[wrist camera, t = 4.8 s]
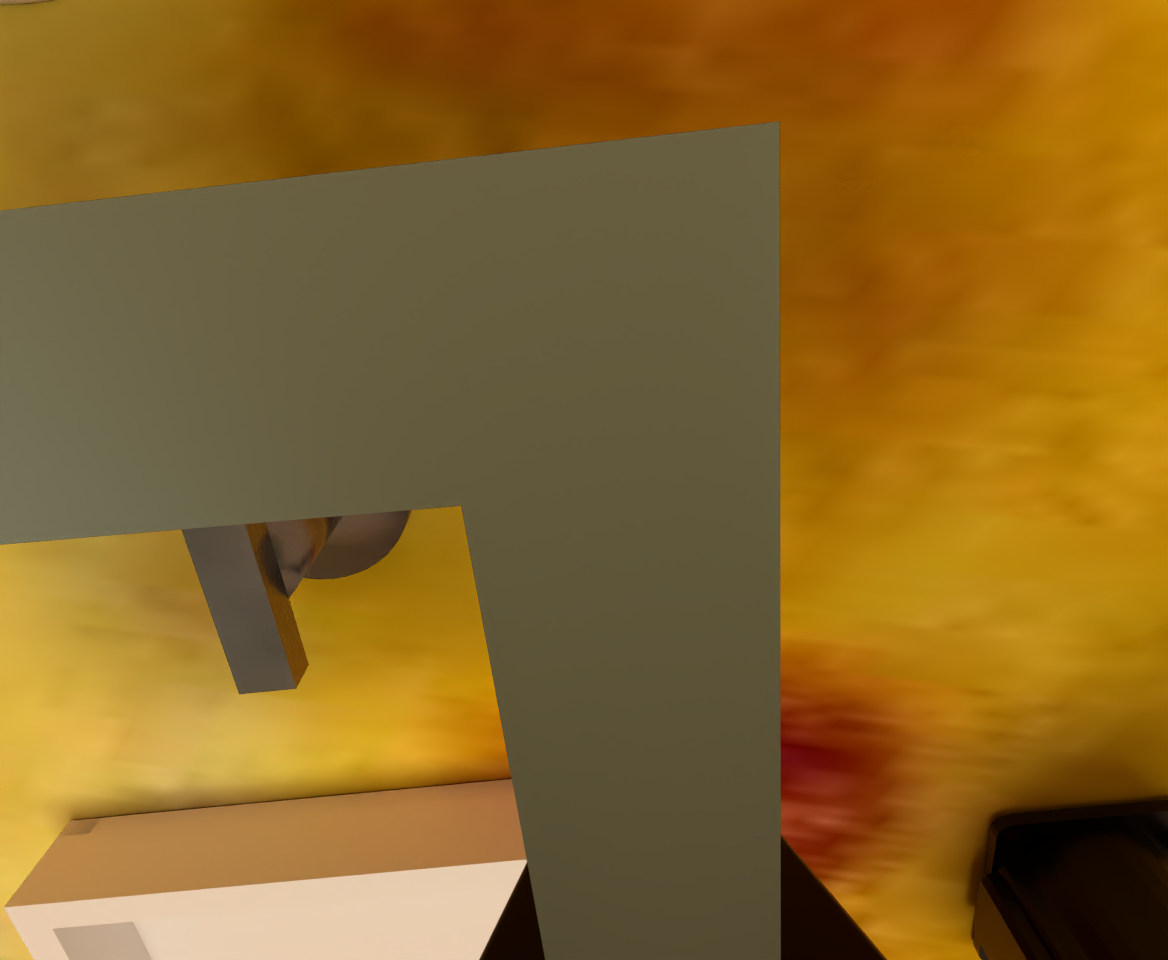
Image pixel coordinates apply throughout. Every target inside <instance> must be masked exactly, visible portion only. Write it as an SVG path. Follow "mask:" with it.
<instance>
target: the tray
mask: <svg viewBox="0 0 1168 960" xmlns="http://www.w3.org/2000/svg"><path fill="white" fill-rule="evenodd" d="M526 863H527V858H526V853H525V848H524V842H523V837H522V831H521V826H520V821H519V815H518V810H517V804H516V799H515V794H514V788H513V783H512V779H507V780H496V781H486V782H475V783H465V784H454V785H443V786H433V787H422V788H412V789H401V790H390V791H380V792H369V793H359V794H348V795H337V796H327V797H316V798H306V799H295V800H285V801H274V802H263V803H253V804H242V805H232V806H221V807H210V808H200V809H189V810H179V811H168V812H158V813H147V814H136V815H126V816H115V817H105V818H94V819H83V820H73V821H70V822H69V823H68V824H67V825H66V827H65V828H64V829H63V831H62V832H61V833H60V835H59V836H58V837H57V839H56V840H55V841H54V842H53V844H52V845H51V846H50V848H49V849H48V850H47V852H46V853H45V854H44V856H43V857H42V858H41V859H40V861H39V862H38V863H37V865H36V866H35V867H34V869H33V870H32V871H31V873H30V874H29V875H28V876H27V878H26V879H25V880H24V882H23V883H22V884H21V886H20V887H19V888H18V890H17V891H16V892H15V893H14V895H13V896H12V897H11V899H10V900H9V901H8V903H7V904H6V905H5V906H4V909H5V911H6V912H7V914H8V916H9V918H10V919H11V921H12V923H13V924H14V926H15V928H16V930H17V931H18V933H19V935H20V936H21V938H22V940H23V942H24V943H25V945H26V947H27V948H28V950H29V952H30V954H31V955H32V957H33V959H34V960H479V959H480V957H481V955H482V953H483V951H484V948H485V946H486V944H487V942H488V940H489V938H490V936H491V934H492V932H493V930H494V928H495V926H496V924H497V922H498V920H499V918H500V916H501V914H502V912H503V910H504V908H505V906H506V904H507V902H508V900H509V898H510V896H511V894H512V892H513V889H514V887H515V885H516V883H517V881H518V879H519V877H520V875H521V873H522V871H523V869H524V867H525V865H526Z"/></svg>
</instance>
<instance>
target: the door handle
mask: <svg viewBox="0 0 1168 960" xmlns="http://www.w3.org/2000/svg"><path fill="white" fill-rule="evenodd" d="M410 513H411V510H405V511H393V512H382V513H370V514H358V515H346V516H334V517H322V518H310V519H299V520H287V521H275V522H263V523H251V524H239V525H227V526H216V527H204V528H192V529H182V532H183V535H184V538H185V541H186V544H187V546H188V549H189V552H190V555H191V558H192V561H193V564H194V566H195V569H196V572H197V575H198V578H199V581H200V584H201V586H202V589H203V592H204V595H205V598H206V601H207V604H208V606H209V609H210V612H211V615H212V618H213V621H214V624H215V626H216V629H217V632H218V635H219V638H220V641H221V643H222V646H223V649H224V652H225V655H226V658H227V661H228V663H229V666H230V669H231V672H232V675H233V678H234V681H235V683H236V686H237V689H238V692H239V694H246V693H256V692H267V691H277V690H287V689H296V688H297V686H298V684H299V682H300V680H301V678H302V677H303V675H304V673H305V671H306V669H307V667H308V665H309V664H308V661H307V658H306V654H305V651H304V648H303V644H302V641H301V638H300V634H299V631H298V628H297V624H296V621H295V618H294V614H293V611H292V608H291V604H290V601H289V597H290V596H291V595H292V594H293V592H294V591H295V589H296V587H297V586H298V584H299V583H300V581H301V580H302V578H309V579H334V578H340V577H346V576H349V575H353V574H356V573H358V572H361V571H363V570H365V569H367V568H369V567H371V566H372V565H374V564H376V563H377V562H378V561H380V560H381V559H382V558H383V557H385V556H386V555H387V554H388V553H389V551H390V550H391V549H392V548H393V547H394V546H395V544H396V543H397V541H398V540H399V538H400V536H401V534H402V532H403V530H404V528H405V526H406V523H407V521H408V519H409V516H410Z"/></svg>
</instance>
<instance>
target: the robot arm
mask: <svg viewBox="0 0 1168 960" xmlns="http://www.w3.org/2000/svg"><path fill="white" fill-rule="evenodd" d="M973 931H974V933H975V934H974V941H973V943H974V947H975V949H976V951H977V953H978V955H979V957H980V958H981V959H982V960H1168V800H1165V801H1154V802H1143V803H1133V804H1122V805H1111V806H1100V807H1089V808H1078V809H1067V810H1057V811H1046V812H1035V813H1024V814H1013V815H1005V816H1001V817H999V818H997V819H996V820H995V821H994V822H993V823H992V824H991V827H990V832H989V839H988V845H987V852H986V859H985V866H984V873H983V876H982V878H981V880H980V883H979V890H978V897H977V904H976V911H975V918H974V924H973ZM479 960H545V956H544V950H543V945H542V940H541V934H540V929H539V923H538V918H537V913H536V907H535V902H534V896H533V891H532V886H531V880H530V875H529V869H528V864H527V863H526V865H525V867H524V869H523V871H522V873H521V875H520V877H519V879H518V881H517V883H516V885H515V887H514V889H513V892H512V894H511V896H510V898H509V900H508V902H507V904H506V906H505V908H504V910H503V912H502V914H501V916H500V918H499V920H498V922H497V924H496V926H495V928H494V930H493V932H492V934H491V936H490V938H489V940H488V942H487V944H486V946H485V948H484V951H483V953H482V955H481V957H480V959H479ZM781 960H887V959H886V958H885V957H884V955H883V954H882V953H881V952H880V951H879V949H878V948H877V947H876V946H875V945H874V944H873V942H872V941H871V940H870V939H869V938H868V936H867V935H866V934H865V933H864V932H863V931H862V929H861V928H860V927H859V926H858V925H857V923H856V922H855V921H854V920H853V919H852V918H851V916H850V915H849V914H848V913H847V912H846V910H845V909H844V908H843V907H842V906H841V905H840V903H839V902H838V901H837V900H836V899H835V897H834V896H833V895H832V894H831V893H830V892H829V890H828V889H827V888H826V887H825V886H824V884H823V883H822V882H821V881H820V880H819V879H818V877H817V876H816V875H815V874H814V873H813V871H812V870H811V869H810V868H809V867H808V866H807V864H806V863H805V862H804V861H803V860H802V858H801V857H800V856H799V855H798V854H797V853H796V851H795V850H794V849H793V848H792V847H791V845H790V844H789V843H788V842H787V841H786V840H785V838H784V837H783V836H782V835H781Z"/></svg>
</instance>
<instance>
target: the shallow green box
mask: <svg viewBox="0 0 1168 960" xmlns="http://www.w3.org/2000/svg"><path fill="white" fill-rule="evenodd" d="M453 506H461V507H462V512H463V518H464V523H465V529H466V534H467V539H468V545H469V550H470V556H471V561H472V566H473V572H474V577H475V583H476V588H477V594H478V599H479V604H480V610H481V615H482V621H483V626H484V631H485V637H486V642H487V648H488V653H489V658H490V664H491V669H492V675H493V680H494V685H495V691H496V696H497V702H498V707H499V712H500V718H501V723H502V729H503V734H504V740H505V745H506V750H507V756H508V761H509V767H510V772H511V777H512V783H513V788H514V794H515V799H516V804H517V810H518V815H519V821H520V826H521V831H522V837H523V842H524V848H525V853H526V858H527V864H528V869H529V875H530V880H531V886H532V891H533V896H534V902H535V907H536V913H537V918H538V923H539V929H540V934H541V940H542V945H543V950H544V956H545V960H781V795H780V121H779V122H771V123H762V124H753V125H744V126H736V127H727V128H718V129H709V130H701V131H692V132H683V133H675V134H666V135H657V136H648V137H640V138H631V139H622V140H613V141H605V142H596V143H587V144H579V145H570V146H561V147H552V148H544V149H535V150H526V151H517V152H509V153H500V154H491V155H483V156H474V157H465V158H456V159H448V160H439V161H430V162H421V163H413V164H404V165H395V166H387V167H378V168H369V169H360V170H352V171H343V172H334V173H325V174H317V175H308V176H299V177H291V178H282V179H273V180H264V181H256V182H247V183H238V184H229V185H221V186H212V187H203V188H195V189H186V190H177V191H168V192H160V193H151V194H142V195H133V196H125V197H116V198H107V199H99V200H90V201H81V202H72V203H64V204H55V205H46V206H37V207H29V208H20V209H11V210H3V211H0V545H2V544H14V543H26V542H38V541H50V540H61V539H73V538H85V537H97V536H109V535H121V534H133V533H144V532H156V531H168V530H180V529H192V528H204V527H216V526H227V525H239V524H251V523H263V522H275V521H287V520H299V519H310V518H322V517H334V516H346V515H358V514H370V513H382V512H393V511H405V510H417V509H429V508H441V507H453Z"/></svg>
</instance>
